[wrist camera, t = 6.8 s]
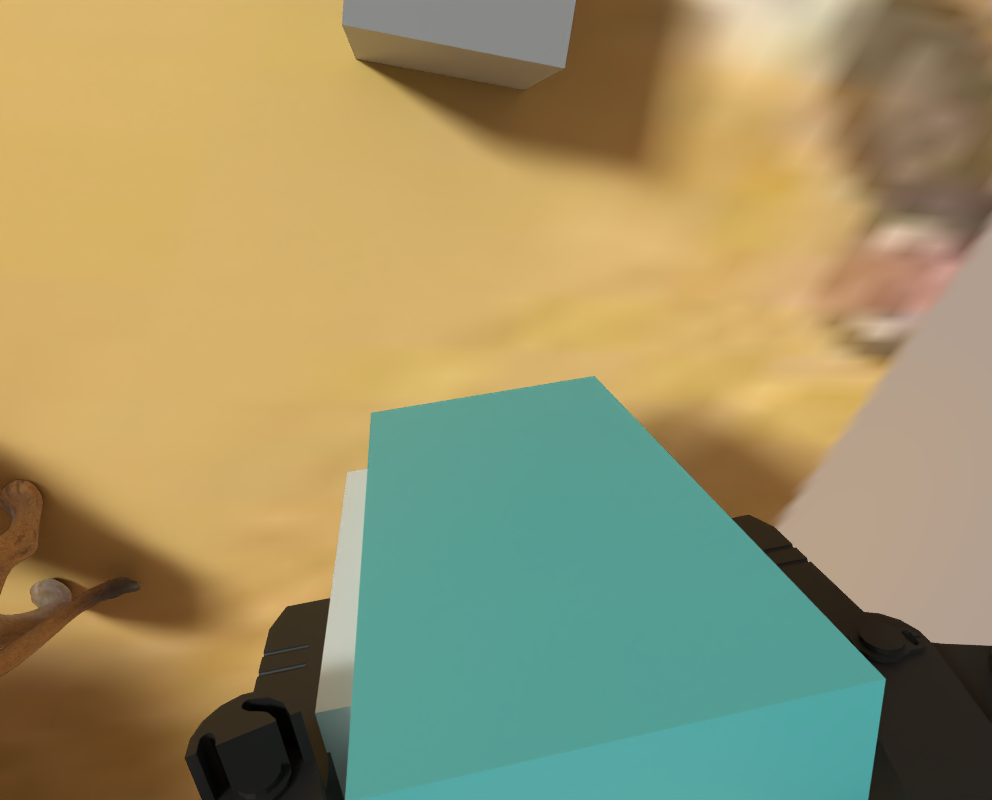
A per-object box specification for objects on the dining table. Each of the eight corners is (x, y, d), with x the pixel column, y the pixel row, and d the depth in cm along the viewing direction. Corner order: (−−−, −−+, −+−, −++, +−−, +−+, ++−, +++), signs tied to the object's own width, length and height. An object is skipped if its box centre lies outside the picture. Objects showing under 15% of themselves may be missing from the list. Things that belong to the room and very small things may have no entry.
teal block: (409, 599, 16) (433, 1106, 7) (371, 412, 14) (344, 803, 5) (606, 561, 16) (839, 991, 8) (594, 375, 14) (884, 678, 6)
